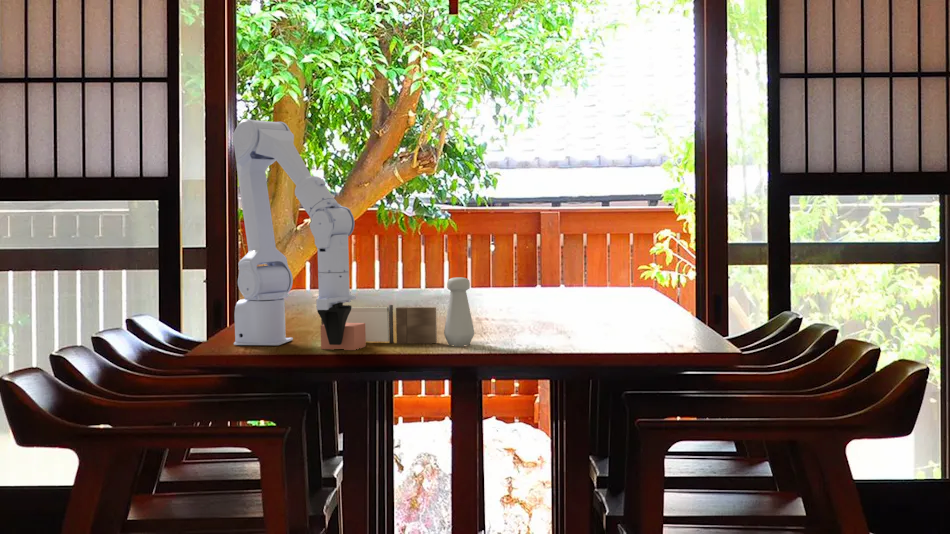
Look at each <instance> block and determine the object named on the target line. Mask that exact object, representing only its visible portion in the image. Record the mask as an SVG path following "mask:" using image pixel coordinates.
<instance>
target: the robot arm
mask: <svg viewBox="0 0 950 534" xmlns="http://www.w3.org/2000/svg"><path fill="white" fill-rule="evenodd" d="M294 140H295V135H294V133H293V132H292V131H291V129H290V127H289V126H288V124H287V123H286V122H283V121H268V120H267V121H265V120H254V119H250V118H244V119H242V120H241V121H239V122H238V124H237V126H236V128H235V129H234V131H233V133H232V141H233V148H234V149H233V150H234V153H235V154H234V155H235V162H236V171H237V173H236V174H237V178H238V186H239V194H240V201H241V207H242V215H243V221H244V223H243V224H244V230H245V235H246V243H247V251H248V252H247V253H246V254H245V255H244V256H243V257H242V258H241V259H240V260H239V261H238V263H237V264H238V278H237V287H238V290H239V292H240V293H241V295H242V297H244V298H242V299H239V300H238V301H237V302H236V303H235V306H234V316H233V317H234V338H235V340H234V342H233V346H281V345H283V344H287V343H288V342H291V341H293V339H294V338H293V337H286V336H287V334H286V311H285V309H286V308H285V307H286V305H285V304H286V301H285V299H286V298H288V294H289V293H290V292H291V290H292V288H293V284H294V283H293V282H294V280H293V278H294V277H293V273H292V271H291V269H290V267H289V264H288V260H287V259H288V258H287V257H286V255H284V253H282V252H281V251H280V250H279V249H277V246H276V241H275V238H276V237H275V232H274V224H273V219H272V211H271V203H270V195H269V190H268V181H267V174H266V171H267V170H268V168H269V166H271V165H273V164H274V163H275V162H277V163H278V165H279V166H280V167H281V168H282V169H283V171H284V172H285V173H286V174H287V176H288V177H289V178H290V179H291V181H292V182H293V183H294V185H295V188H294V196H295V197H296V199H297V200H298V202H299V203H300V205H301V206H302V208H303V209H304V211H305V213H307V215H308V217H309V218H310V219H311V222H310V223H309V230H310V232H311V235H312V236H313V238H314V245H315V247H316V248H317V249H316V250H317V276H318V277H317V278H318V280H317V281H318V282H317V283H318V296H317V299H316V300H315V302H316V310H317V314H318V315H319V317H320V318H321V319H322V321H323V323H324V326H325V329H326V333H327V337H328V341H329V344H330V345H340V344H341V343H342V339H343V334H344V329H345V324H346V321H347V318H348V315H349V313H350V311H351V308H352V307H353V306H352V305H349V304H348V305H347V304H346V303H350V302H352V300H356V298H357V296H356V295H355V294H352V293H351V292H350V264H349V263H350V259H349V258H350V255H349V253H350V251H349V237H350V236H351V235H352V233H353V232H354V230H355V223H356V222H355V217H354V215H353V213H352V210H351V209H350V208H348V207H347V206H343V205H341V203H339V202H338V201H337V200H336V199H335V198H334V196H333V195H332V193H331V192H330V191H329V189H328V187H327V186H326V182H325V180H324V179H323V178H320V177H319V176H313V175H312V174H311V172H310V170H309V169H308V167H307V166H306V164H305V162H304V160H303V158H302V156H301V155H300V153H299V151H298V150H297V147H296V146H295V144H294V142H295V141H294ZM259 265H260V266H259ZM321 319H320V320H321Z"/></svg>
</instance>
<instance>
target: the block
mask: <svg viewBox="0 0 950 534" xmlns="http://www.w3.org/2000/svg"><path fill="white" fill-rule="evenodd" d="M366 342H367V341H366V334H365V323H346V324H345V329H344V334H343V339H342V343H341V344H340V345H330V344H329V341H328V337H327V333H326V329H325V326H324V325H321V324H320V349H321V350H334V349H344V350H343V351H356V349H357V350H360V349H362V348H365V347H366V345H367V343H366ZM359 348H360V349H359Z"/></svg>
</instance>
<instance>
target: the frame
mask: <svg viewBox="0 0 950 534" xmlns="http://www.w3.org/2000/svg"><path fill="white" fill-rule="evenodd" d="M388 307H389V341H388V342H389V344H394V305H393V304H389V305H388ZM320 320H321V323H320V326H321V325H324V323H323V321H322V319H320ZM395 323H396V325H395V328H396V344H398V345H399V344H402V345H403V344H404V345H405V344H428V345H429V344H431V345H432V343H436V344H437V343H438V342H437V341H438V340H437V339H438V338H437V337H438V335H437V334H438V333H437V331H438V330H437V328H438V327H437V325H438V324H437V306H434V307H433V306H432V307H431V306H430V307H429V306H428V307H427V306H426V307H425V306H421V307H420V306H419V307H418V306H415V307H413V306H411V307H410V306H397V307H396V308H395Z"/></svg>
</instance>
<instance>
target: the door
mask: <svg viewBox="0 0 950 534" xmlns="http://www.w3.org/2000/svg"><path fill="white" fill-rule="evenodd" d="M351 307H352V308H351V311H350V313H349V315H348V318H347V321H346V323H365V334H366V342H378V343H379V342H384V343H385V342H387V343H389V342H390V341H389V306H387V307H386V306H381V307H380V306H377V307H376V306H362V307H361V306H351Z"/></svg>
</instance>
